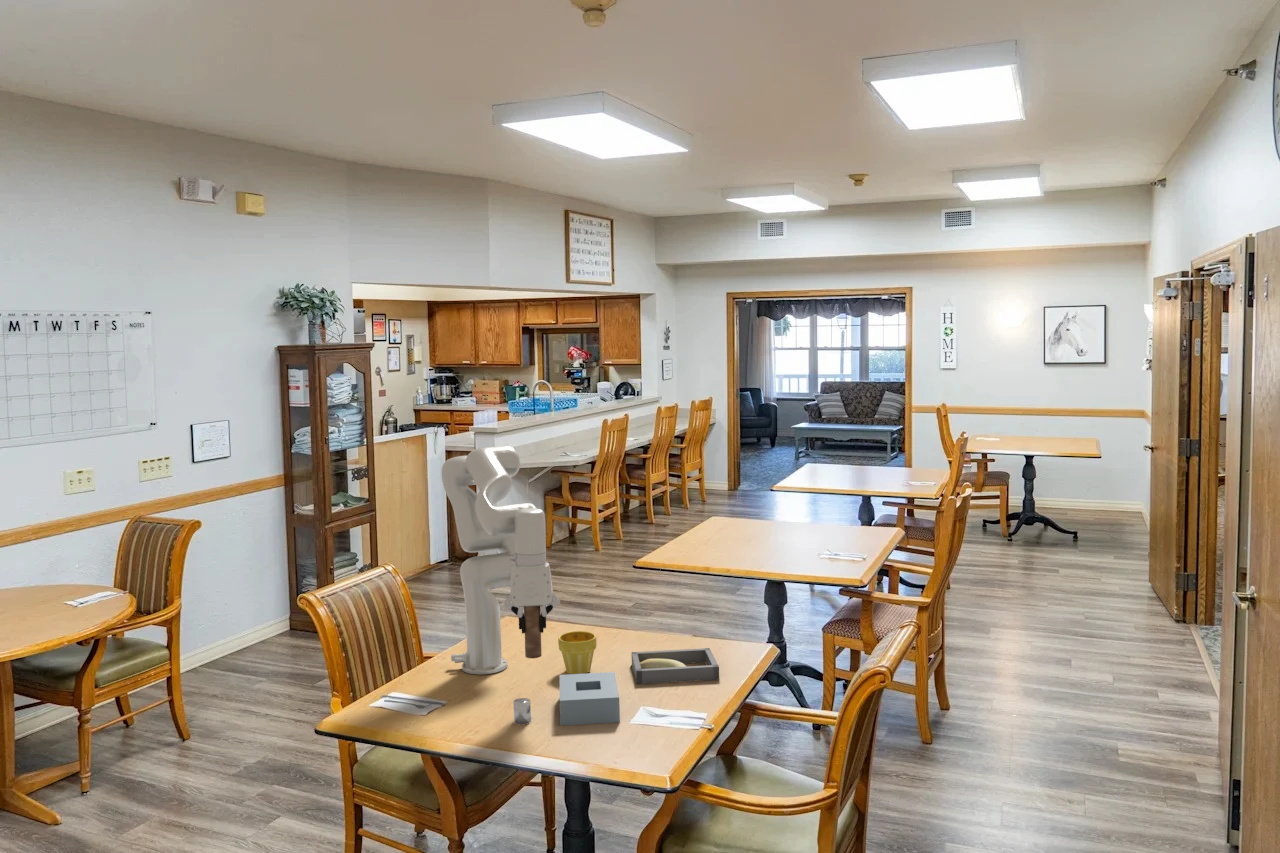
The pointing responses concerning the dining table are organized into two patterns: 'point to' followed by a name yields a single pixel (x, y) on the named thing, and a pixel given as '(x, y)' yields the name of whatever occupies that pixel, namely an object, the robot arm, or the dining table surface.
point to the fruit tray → (676, 673)
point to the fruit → (660, 663)
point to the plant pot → (577, 651)
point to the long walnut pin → (532, 632)
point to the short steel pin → (522, 711)
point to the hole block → (589, 698)
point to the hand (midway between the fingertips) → (532, 630)
